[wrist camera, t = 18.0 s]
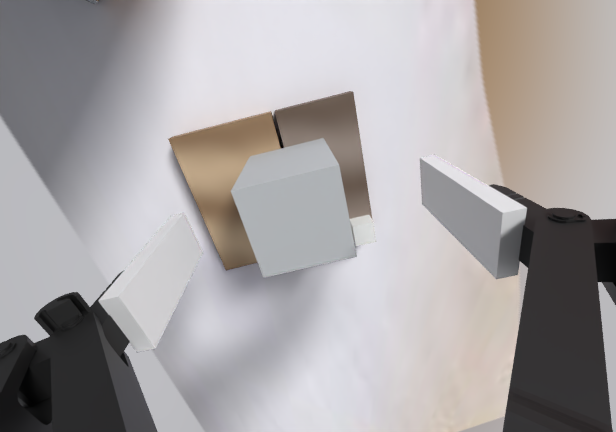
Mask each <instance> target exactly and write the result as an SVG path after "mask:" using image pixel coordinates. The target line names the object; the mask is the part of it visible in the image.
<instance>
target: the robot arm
mask: <svg viewBox="0 0 616 432" xmlns="http://www.w3.org/2000/svg"><path fill="white" fill-rule="evenodd" d="M420 170H421V191H422V204H423V205H424V206H425V207H426V209H427V210H428V211H429V212H430V213H431V214H432V215H433V216H434V217H435V218H436V219H437V220H438V221H439V222H440V223H441V224H442V225H443V226H444V227H445V228H446V229H447V230H448V231H449V232H450V233H451V234H452V235H453V236H454V237H455V238H456V239H457V240H458V241H459V242H460V243H461V244H462V245H463V246H464V247H465V248H466V249H467V250H468V251H469V252H470V253H471V254H472V255H473V256H474V257H475V258H476V259H477V260H478V261H479V262H480V263H481V264H482V265H483V266H484V267H485V268H486V269H487V270H488V271H489V272H490V273H491V274H492V275H493V276H494V277H495V278H496V279H500V278H505V277H509V276H514V275H518V269H519V262H522V263H523V264H524V265H525V266H527V267H528V274H527V280H526V286H525V292H524V299H523V305H522V312H521V318H520V324H519V331H518V337H517V343H516V350H515V356H514V363H513V369H512V375H511V382H510V388H509V394H508V401H507V407H506V414H505V420H504V427H503V432H613V430H612V424H611V414H610V403H609V393H608V383H607V372H606V362H605V352H604V342H603V332H602V322H601V311H600V301H599V291H598V282H602V283H603V285H604V287H605V288H606V290H607V292H608V293H609V295H610V297H611V298H612V300H613V302H614V303H615V305H616V219H603V220H591V219H590V217H589V216H588V215H586V214H584V213H583V212H580V211H576V210H573V209H565V208H550V209H546V208H544V207H542V206H540V205H538V204H536V203H534V202H532V201H531V200H528V199H527V198H524V197H523V196H521V195H519V194H516V192H514V191H512V190H510V189H508V188H506V187H502V186H498V185H494V184H493V185H487V184H485V183H483V182H481V181H480V180H478V179H476V178H474V177H473V176H471V175H469V174H468V173H466V172H464V171H462V170H461V169H459V168H457V167H455V166H454V165H452V164H450V163H448V162H447V161H445V160H443V159H441V158H440V157H438V156H436V155H430V156H426V157H421V158H420ZM202 254H203V251H202V249H201V247H200V245H199V243H198V241H197V239H196V237H195V235H194V233H193V230H192V228H191V226H190V224H189V222H188V220H187V218H186V216H185V214H184V213H180V214H176V215H171V216H170V217H169V218H168V220H167V221H166V222H165V223H164V224H163V225H162V227H161V228H160V229H159V230H158V231H157V232H156V234H155V235H154V236H153V237H152V238H151V239H150V241H149V242H148V243H147V244H146V245H145V247H144V248H143V249H142V250H141V251H140V252H139V254H138V255H137V256H136V257H135V258H134V259H133V261H132V262H131V263H130V264H129V265H128V266H127V268H126V269H125V270H124V271H122V272H121V273H120V274H119V275H118V276H117V277H116V278H115V279H114V280H113V282H112V284H110V285H109V286H108V287H107V289H106V291H104V292H103V293H102V294H101V295H100V297H99V298H98V299H97V300H96V301H95V302H94V304H93V305H92V306H91V307H89V306H88V304H87V303H86V302H85V301H84V300H83V298H82V297H81V295H80V294H79V293H78V292H72V293H69V294H65V295H63V296H61V297H58V298H56V299H55V300H53V301H51V302H50V303H48V304H47V305H45V306H44V307H43V308H42V309H40V311H39V312H38V313H37V314H36V315H35V318H34V319H35V320H36V321H37V322H38V323H39V324H40V325H41V326H42V328H43V329H44V330H45V331H46V332H47V333H48V334H49V335H50V337H48V338H46V339H44V340H41V341H38V342H36V343H33V342H32V341H31V340H30V339H29V338H28V337H27V336H26V335H20V336H16V337H14V338H11V339H9V340H7V341H4V342H2V343H0V432H157V429H156V427H155V424H154V421H153V419H152V417H151V414H150V411H149V408H148V406H147V404H146V401H145V398H144V396H143V393H142V391H141V388H140V385H139V382H138V380H137V377H136V375H135V372H134V370H133V367H132V364H131V362H130V359H129V357H128V356H127V354H126V353H125V352H124V350H125V348H126V347H127V345H128V343H130V344H131V345H132V346H133V348H134V349H135V350H136V352H142V351H147V350H152V349H156V347H157V345H158V343H159V341H160V339H161V337H162V335H163V333H164V331H165V329H166V327H167V325H168V323H169V321H170V318H171V316H172V314H173V312H174V310H175V308H176V306H177V304H178V302H179V300H180V298H181V296H182V294H183V292H184V290H185V288H186V286H187V284H188V282H189V280H190V278H191V276H192V274H193V272H194V270H195V268H196V266H197V264H198V262H199V260H200V258H201V256H202Z"/></svg>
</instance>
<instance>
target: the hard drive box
mask: <svg viewBox="0 0 616 432" xmlns="http://www.w3.org/2000/svg"><path fill="white" fill-rule="evenodd" d="M87 1H89V2H91V3H94V4H97V2H98V1H99V0H87Z"/></svg>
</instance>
